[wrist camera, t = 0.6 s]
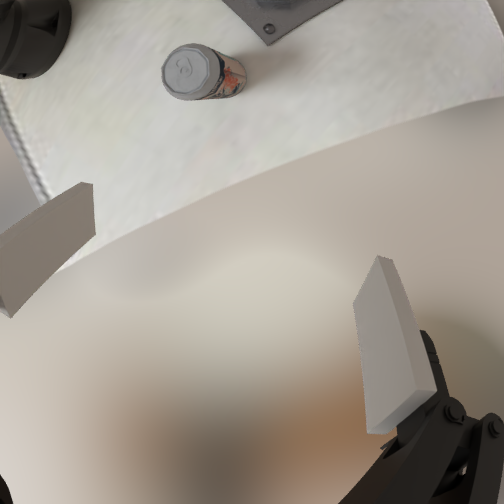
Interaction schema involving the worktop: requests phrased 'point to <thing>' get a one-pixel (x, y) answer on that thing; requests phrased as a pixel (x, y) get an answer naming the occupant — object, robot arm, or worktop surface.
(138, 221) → the worktop surface
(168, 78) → the beer can
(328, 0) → the duct flange
